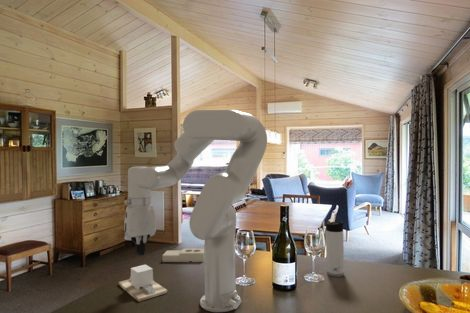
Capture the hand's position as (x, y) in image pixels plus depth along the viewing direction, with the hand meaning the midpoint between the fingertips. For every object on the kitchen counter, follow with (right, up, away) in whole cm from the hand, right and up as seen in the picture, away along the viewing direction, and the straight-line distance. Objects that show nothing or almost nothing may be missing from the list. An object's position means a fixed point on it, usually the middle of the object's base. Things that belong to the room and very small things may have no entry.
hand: (140, 254), depth 114 cm
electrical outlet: (+11, -12, +31) cm, 35 cm away
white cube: (+1, -11, 0) cm, 11 cm away
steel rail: (+1, -12, 0) cm, 12 cm away
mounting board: (+1, -12, 0) cm, 12 cm away
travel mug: (+71, -11, +10) cm, 73 cm away
